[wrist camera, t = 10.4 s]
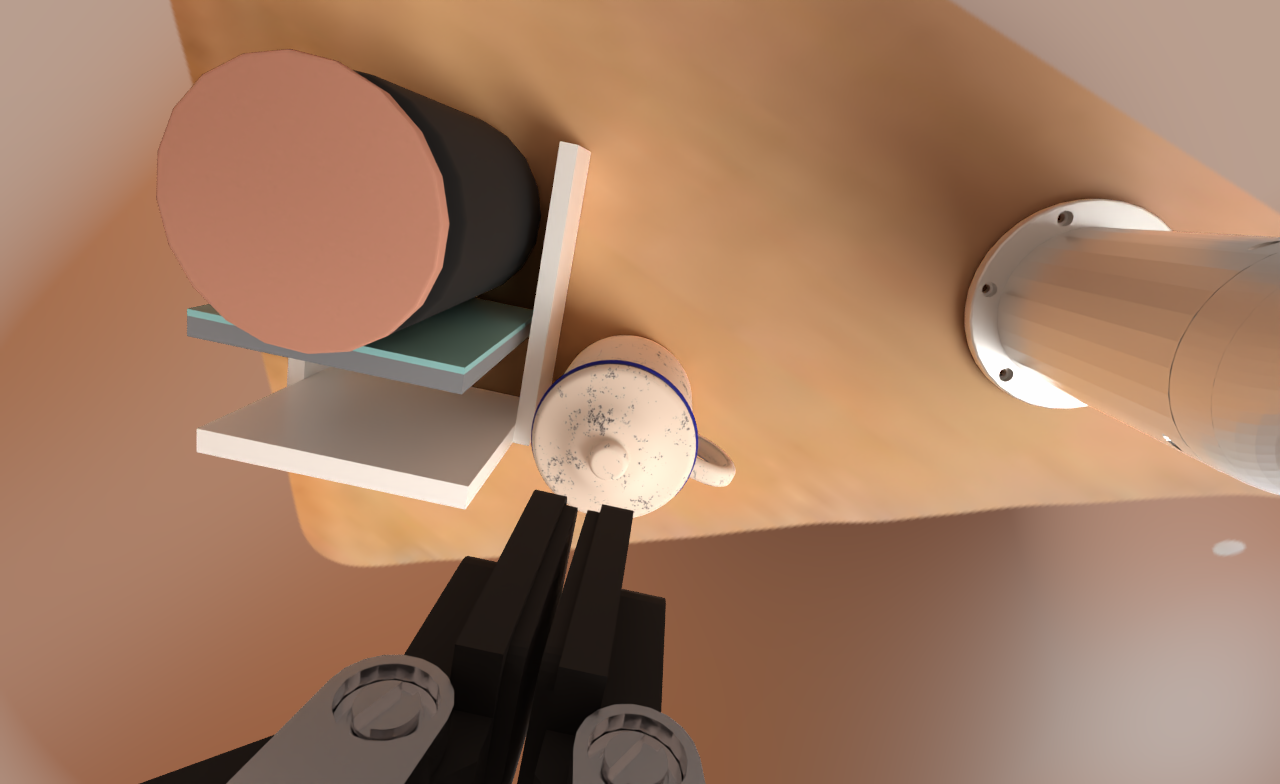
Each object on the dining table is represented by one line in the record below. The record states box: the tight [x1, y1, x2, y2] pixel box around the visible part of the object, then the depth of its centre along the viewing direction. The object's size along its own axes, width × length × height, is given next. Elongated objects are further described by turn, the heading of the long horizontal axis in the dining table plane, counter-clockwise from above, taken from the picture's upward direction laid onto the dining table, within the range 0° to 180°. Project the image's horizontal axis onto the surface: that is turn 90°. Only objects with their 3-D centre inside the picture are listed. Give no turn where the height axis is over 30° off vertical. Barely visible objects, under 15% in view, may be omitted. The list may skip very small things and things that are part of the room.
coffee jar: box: [156, 49, 541, 354], centre depth 32 cm, size 11×11×18 cm
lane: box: [197, 141, 591, 509], centre depth 35 cm, size 15×17×14 cm
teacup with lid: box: [531, 335, 735, 518], centre depth 38 cm, size 12×9×12 cm
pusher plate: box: [187, 297, 533, 394], centre depth 35 cm, size 12×1×15 cm, turn 79°
